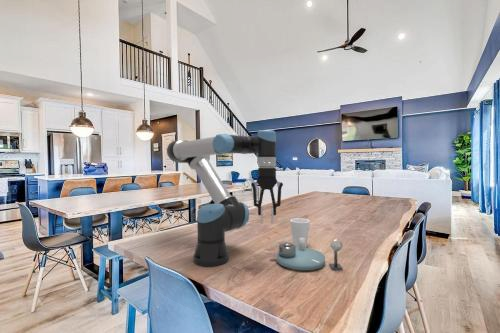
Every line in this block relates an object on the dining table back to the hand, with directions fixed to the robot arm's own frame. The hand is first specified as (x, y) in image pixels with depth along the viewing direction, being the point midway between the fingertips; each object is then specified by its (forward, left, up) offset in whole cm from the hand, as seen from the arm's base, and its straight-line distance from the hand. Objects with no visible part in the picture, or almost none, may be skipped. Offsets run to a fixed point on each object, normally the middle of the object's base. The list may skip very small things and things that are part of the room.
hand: (267, 222), depth 109 cm
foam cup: (+17, +19, -17) cm, 31 cm away
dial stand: (+27, -6, -17) cm, 32 cm away
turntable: (+14, 0, -17) cm, 22 cm away
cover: (+9, 0, -14) cm, 16 cm away
